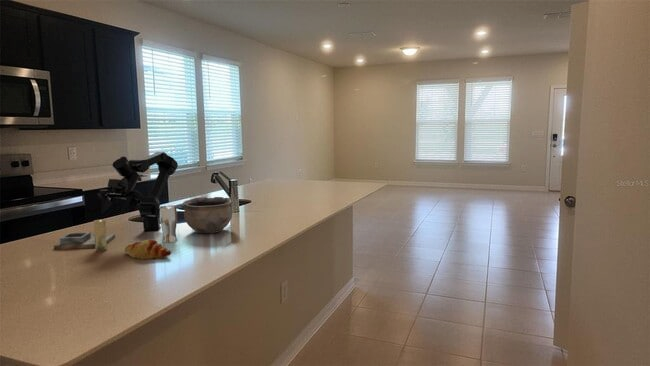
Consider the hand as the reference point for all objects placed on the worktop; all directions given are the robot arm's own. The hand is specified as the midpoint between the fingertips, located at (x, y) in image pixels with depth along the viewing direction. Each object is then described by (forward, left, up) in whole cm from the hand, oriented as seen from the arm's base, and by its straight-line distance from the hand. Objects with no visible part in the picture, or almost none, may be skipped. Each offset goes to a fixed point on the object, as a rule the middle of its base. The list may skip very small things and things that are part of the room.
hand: (112, 213), depth 170 cm
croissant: (-17, +17, -14) cm, 28 cm away
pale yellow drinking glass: (+3, +7, -13) cm, 15 cm away
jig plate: (+13, -5, -13) cm, 19 cm away
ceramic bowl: (-36, -17, -14) cm, 42 cm away
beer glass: (-21, -3, -14) cm, 26 cm away
